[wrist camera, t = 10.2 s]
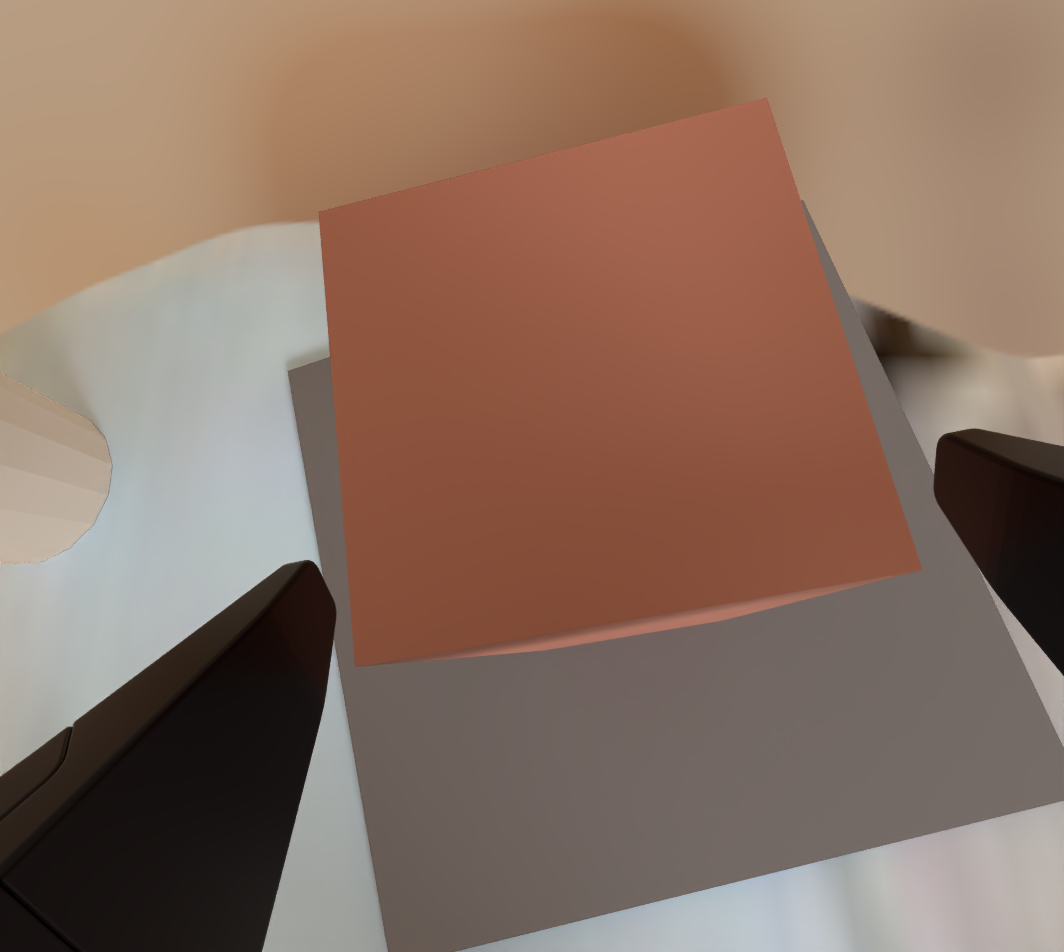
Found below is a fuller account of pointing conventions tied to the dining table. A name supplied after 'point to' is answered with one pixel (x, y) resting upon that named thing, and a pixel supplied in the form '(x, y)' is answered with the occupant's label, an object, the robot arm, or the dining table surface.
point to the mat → (683, 728)
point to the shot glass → (46, 475)
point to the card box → (597, 399)
